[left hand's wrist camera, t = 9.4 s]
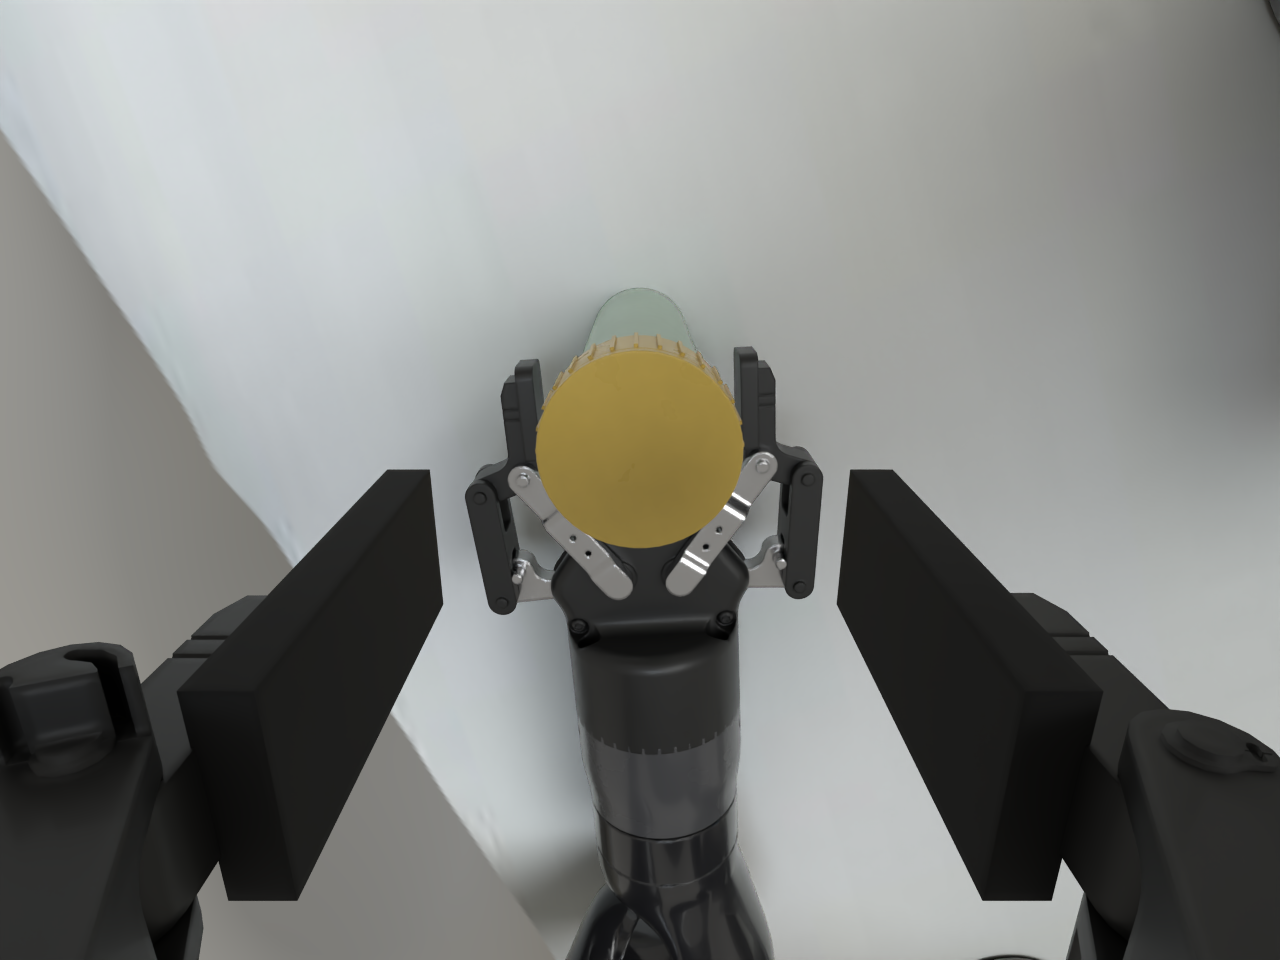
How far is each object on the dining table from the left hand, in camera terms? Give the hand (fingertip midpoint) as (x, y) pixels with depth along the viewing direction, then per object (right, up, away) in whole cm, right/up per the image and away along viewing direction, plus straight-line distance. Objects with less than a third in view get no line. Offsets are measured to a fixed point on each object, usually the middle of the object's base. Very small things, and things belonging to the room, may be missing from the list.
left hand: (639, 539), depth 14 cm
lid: (0, +2, +5) cm, 5 cm away
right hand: (0, +6, +16) cm, 17 cm away
